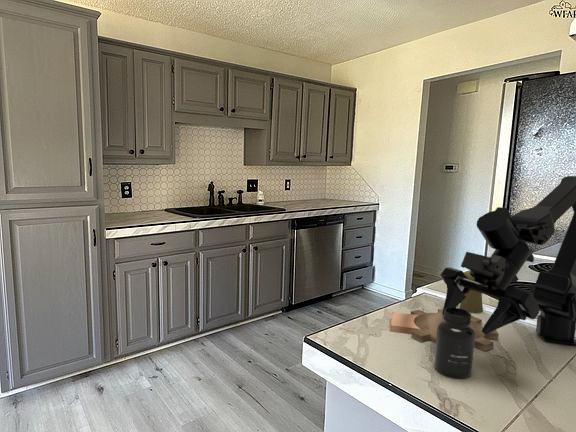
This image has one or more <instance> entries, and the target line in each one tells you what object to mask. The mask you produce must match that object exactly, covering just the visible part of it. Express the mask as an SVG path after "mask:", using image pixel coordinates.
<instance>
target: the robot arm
mask: <svg viewBox="0 0 576 432" xmlns="http://www.w3.org/2000/svg"><path fill="white" fill-rule="evenodd" d="M569 209H572V211H573V214H572V217H571V220H570V222H569V225H568V228H567V230H566V232H565V235H564V238H563V240H562V242H561V245H560V247H559V250H558V252H557V255H556V257H555V260H554V262H553V266H552V267H551V268H550V269H549V270H547V271H540V272H539V273H538V276H537V278H536V282H534V285H533V286H532V289H531V290H532V291H530V290H528V289H525V288H522V287H517V286H515V285H511V284H512V283H514V284H517V282H518V281H519V277H518V273H519V272H520V270H521V269H522V268H523V266H524V264H525V263H526V262H530V263H534V261H535V256H534V255H533V249H532V248H530V247H529V245H528V244H530V245H531V244H533V245H538V246H539V245H540V246H543V245H545V244H546V243H547V242H549V240H550V239H551V237H552V236H553V235H554V233H555V232H556V229H555V228H556V227H555V225H556V222H557V221H558V220H560V218H561V217H562V216H564V214H565V213H566V212H567V211H569ZM476 227H477V229H478V230H479V232H480V234H481V235H482V237H483V239H484V240H485V242H486V243H487V245H488V246H489V248H491V249H493V250H494V251H493V252H492V254H491V255H490V256H488V255H487V256H486V255H483V254H479V253H473V252H470V251H466V252H465V254H464V257H463V259H462V262H461V264H460V267H461V268H463V269H464V268H465V269H467V270H468V271H471V272H470V275H471V276H472V277H474V278H475V279H474V281H473V280H470V279H468V278H467V277H466V275H465V274H464V273H465V272H463V270H461V269H457V268H453V267H444V269H443V270H442V272H441V273H440V274H439V275H440V277H441V279H442V281H443V282H444V284H445V285H446V296H445V300H444V305H443V307H442V310H443V312H442V314H443V315H444V310H445V309H446V308H458V306H460V303H461V302H462V301H463V300H464V299H465V298H466V296H465V295H464V294H466V293H468V292H469V291H470V290H473V291H476V292H479V293H482V295H484V296H489V297H491V298H494V299H498V302H497V306H496V308H495V310H494V311H492V314H491V315H490V316H489V318H488V320H487V321H486V322H485V324H484V326H483V327H484V328H483V329H482V332H483V333H484V334H485V335H486V334H488V333H490V332H492V331H494V330H498V329H500V328H502V327H505V326H507V325H509V324H512V323H514V322H517V321H520V320H521V321H526V320H527V319H530V320H535V319H536V328H535V332H536V333H537V335H539V337H540V338H542V341H544V342H546V343H555V344H563V345H568V346H569V345H572V346H576V340H575V336H576V175H568V176H563V178H562V179H561V180H560V184H558V185H557V186H556V187H555V188H553V189H552V191H550V192H549V193H548V194H547V195H546V196H545V197H543V198H542V199H541V200H540V201H539V202H538V203H537V204H536V205H534V206H532V207H530V208H526V209H522V210H520V211H518V212H517V213H515V214H513V215H512V216H511V212H510V210H509V209H508V208H507V207H501V206H500V207H499V206H497V207H496V208H495V210H493V211H489V212H486V213H485V214H483V215H482V216H479V217H478V218H477V221H476Z"/></svg>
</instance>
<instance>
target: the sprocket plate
mask: <svg viewBox="0 0 576 432" xmlns="http://www.w3.org/2000/svg"><path fill="white" fill-rule="evenodd" d="M442 312H443V308H442V309H441V308H438V309H437V312H425V311H423V310H421V309H416V310H411V311H410V313H406V312H396V311H392V312H391V315H390V316H391V317H390V325H389V326H390V328H389V332H395V333H403V334H411V339H413V340H416V341H417V342H420V343H424V342H425V343H426V342H427V341H432V342H435V343H436V337H437V327H438V324H439V323H440V322H442V321H444V319H443V316H444V315H443V314H442ZM482 321H483V320H482V319H481V318H478V317H476V316H473V315H471V324H470V326H471V327H472V328H473V329H474V331H475V344H474V348H476V349H478V350H481V351H483V352H487V351H490V350H492V349H494V341H492V340H496V341H498V340H499V335H500V334H499V332H498V329H496V330H494V331H492V332H490V333H488V334H486V335H485V334H484V333H483V332H482V329H483V328H484V326H482Z"/></svg>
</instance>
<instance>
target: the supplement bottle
mask: <svg viewBox="0 0 576 432" xmlns="http://www.w3.org/2000/svg"><path fill="white" fill-rule="evenodd" d="M471 316H472V313H470V312H468V311H466V310H463V309H460V307H456V308H446V309H445V310H444V316H443V319H444V321H442V322H440V323H439V324H438V327H437V337H436V342H435V349H434V351H435V352H434V367H435V368H436V370H437V371H438V372H439V373H441V374H443V375H445V376H447V377H450V378H454V379H467V378H468V377H470V376H471V374H472V370H473V363H474V352H475V347H474V344H475V331H474V329H473V328H472V327H471V326H470V324H471Z"/></svg>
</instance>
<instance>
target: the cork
mask: <svg viewBox="0 0 576 432" xmlns="http://www.w3.org/2000/svg"><path fill="white" fill-rule="evenodd" d="M470 272H471V271H470V270H467V271H464V272H463V273H464V274H465V275H466V277H467V278H468V279H470V280H473V281H474V279H475V278H474V277H472V276H471V275H470ZM464 295H465V296H466V298H465V299H464V300H463V301H462V302H461V303H460V304H459V309H463V310H466V311H468V312H470V313H471V314H481V313H483V312H484V308H483V294H482V293H479V292H476V291H473V290H470V291H469V292H468V293H466V294H464Z"/></svg>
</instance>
